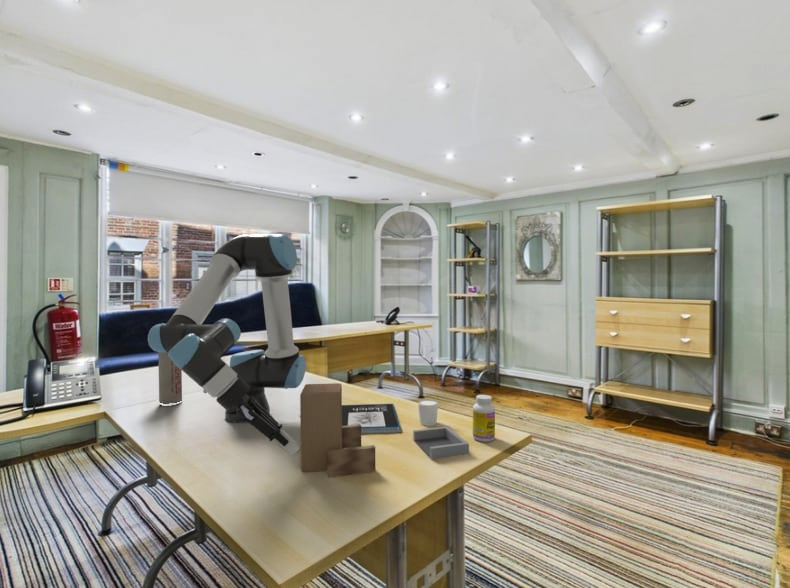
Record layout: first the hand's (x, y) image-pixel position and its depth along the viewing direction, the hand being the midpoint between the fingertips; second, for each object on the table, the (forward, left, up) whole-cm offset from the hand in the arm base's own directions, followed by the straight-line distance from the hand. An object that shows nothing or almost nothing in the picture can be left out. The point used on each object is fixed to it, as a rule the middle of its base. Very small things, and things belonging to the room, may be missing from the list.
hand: (295, 450), depth 104 cm
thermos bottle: (-44, +75, -5) cm, 87 cm away
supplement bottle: (+56, +5, -5) cm, 57 cm away
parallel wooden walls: (+13, +3, -5) cm, 14 cm away
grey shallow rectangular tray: (+40, +3, -5) cm, 41 cm away
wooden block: (+7, +2, -5) cm, 9 cm away
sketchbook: (+26, +33, -6) cm, 43 cm away
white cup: (+45, +23, -5) cm, 51 cm away
